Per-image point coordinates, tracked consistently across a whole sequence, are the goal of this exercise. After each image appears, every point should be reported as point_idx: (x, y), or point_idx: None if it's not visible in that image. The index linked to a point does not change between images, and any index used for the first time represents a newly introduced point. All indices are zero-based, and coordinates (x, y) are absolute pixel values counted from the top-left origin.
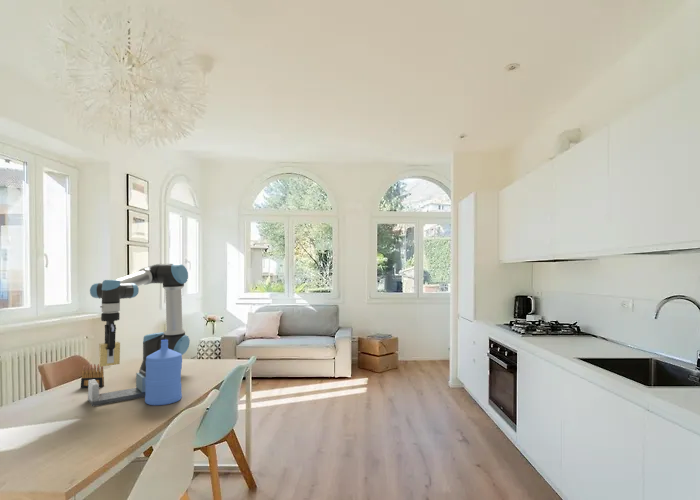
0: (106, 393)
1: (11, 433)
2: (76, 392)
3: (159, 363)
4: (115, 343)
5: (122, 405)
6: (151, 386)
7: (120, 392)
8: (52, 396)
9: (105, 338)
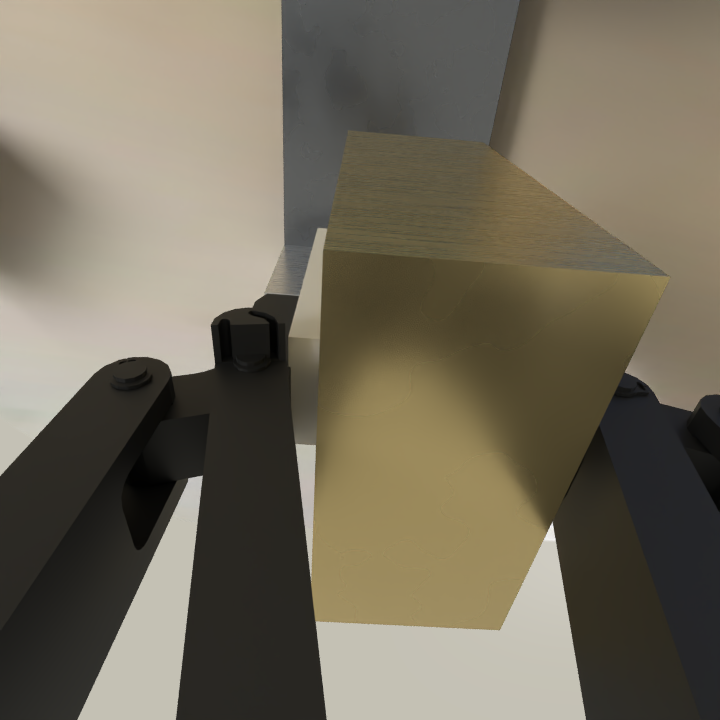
0: (307, 169)
1: (552, 530)
2: (39, 282)
3: None
4: (601, 401)
5: (602, 126)
6: None
7: (356, 65)
8: (77, 387)
9: (110, 630)
